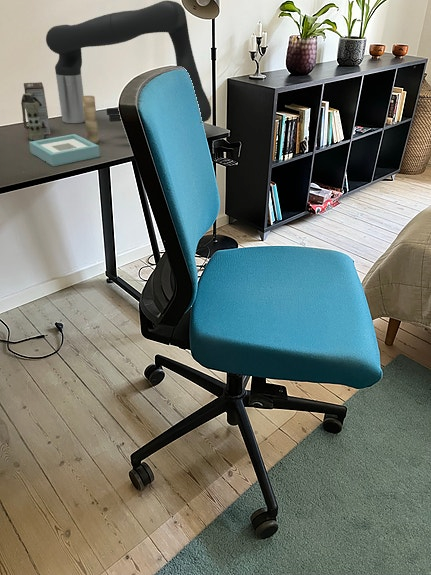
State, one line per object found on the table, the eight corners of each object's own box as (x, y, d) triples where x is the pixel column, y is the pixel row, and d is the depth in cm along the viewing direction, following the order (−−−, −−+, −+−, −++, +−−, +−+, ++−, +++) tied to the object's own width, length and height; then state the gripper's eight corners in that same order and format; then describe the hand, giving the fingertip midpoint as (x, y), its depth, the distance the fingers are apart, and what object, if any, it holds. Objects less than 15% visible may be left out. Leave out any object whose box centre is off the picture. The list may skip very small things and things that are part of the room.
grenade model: (49, 136, 167) (42, 92, 159) (38, 142, 161) (30, 96, 153) (33, 134, 168) (26, 90, 160) (22, 139, 163) (13, 94, 154)
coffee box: (31, 128, 174) (22, 82, 165) (49, 127, 176) (41, 82, 167) (32, 135, 167) (24, 87, 158) (51, 134, 169) (44, 87, 160)
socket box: (30, 152, 152) (28, 141, 150) (76, 144, 161) (74, 133, 159) (53, 166, 142) (51, 155, 140) (99, 156, 151) (98, 145, 149)
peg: (85, 141, 164) (79, 96, 155) (95, 139, 166) (90, 95, 158) (90, 144, 161) (85, 98, 153) (101, 142, 163) (96, 97, 155)
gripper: (150, 97, 168) (104, 98, 164) (158, 107, 157) (109, 108, 152) (151, 119, 172) (106, 120, 168) (158, 129, 161) (111, 131, 157)
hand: (107, 114), depth 160 cm, fingers open, 8 cm apart
